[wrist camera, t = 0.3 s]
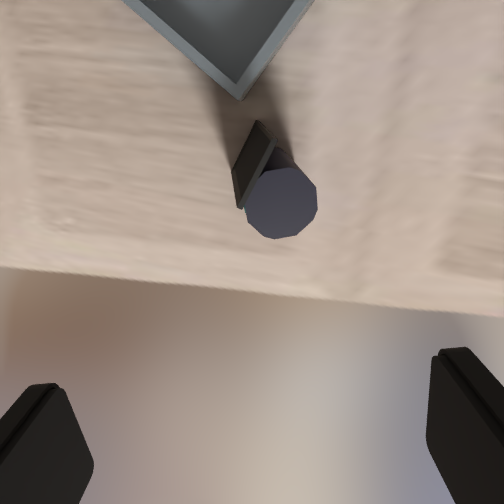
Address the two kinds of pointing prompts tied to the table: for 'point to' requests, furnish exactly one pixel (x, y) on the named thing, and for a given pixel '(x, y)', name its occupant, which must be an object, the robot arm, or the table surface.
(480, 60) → the table surface
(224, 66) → the open box
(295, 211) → the speaker
